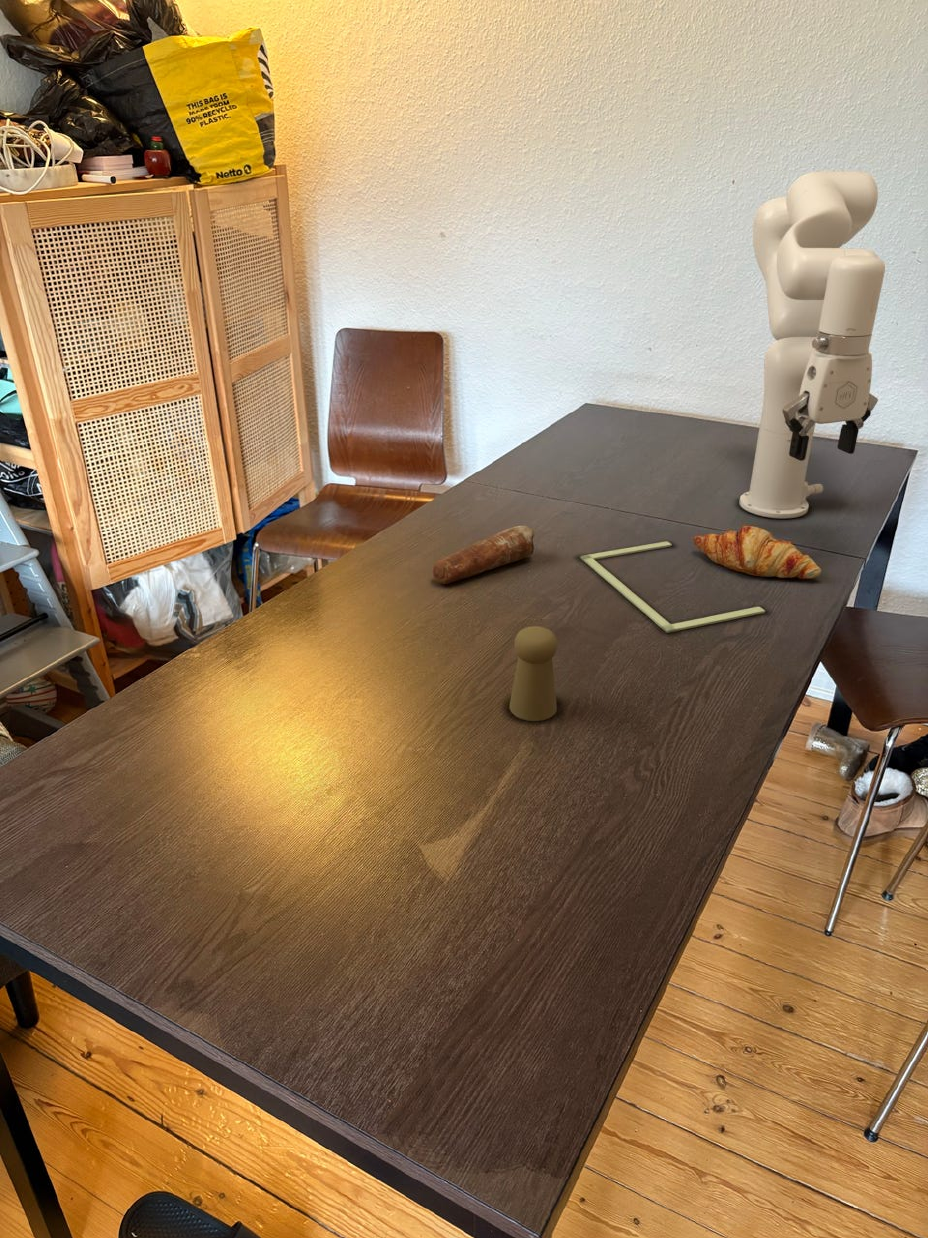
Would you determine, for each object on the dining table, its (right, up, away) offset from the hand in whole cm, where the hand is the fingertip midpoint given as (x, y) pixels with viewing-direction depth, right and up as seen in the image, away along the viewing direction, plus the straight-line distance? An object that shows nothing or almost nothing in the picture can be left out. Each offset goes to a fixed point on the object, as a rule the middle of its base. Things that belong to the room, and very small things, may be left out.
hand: (821, 454), depth 145 cm
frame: (-24, -21, +1) cm, 32 cm away
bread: (-54, -18, +5) cm, 57 cm away
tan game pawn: (-48, -38, -30) cm, 68 cm away
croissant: (-9, -18, +6) cm, 21 cm away
